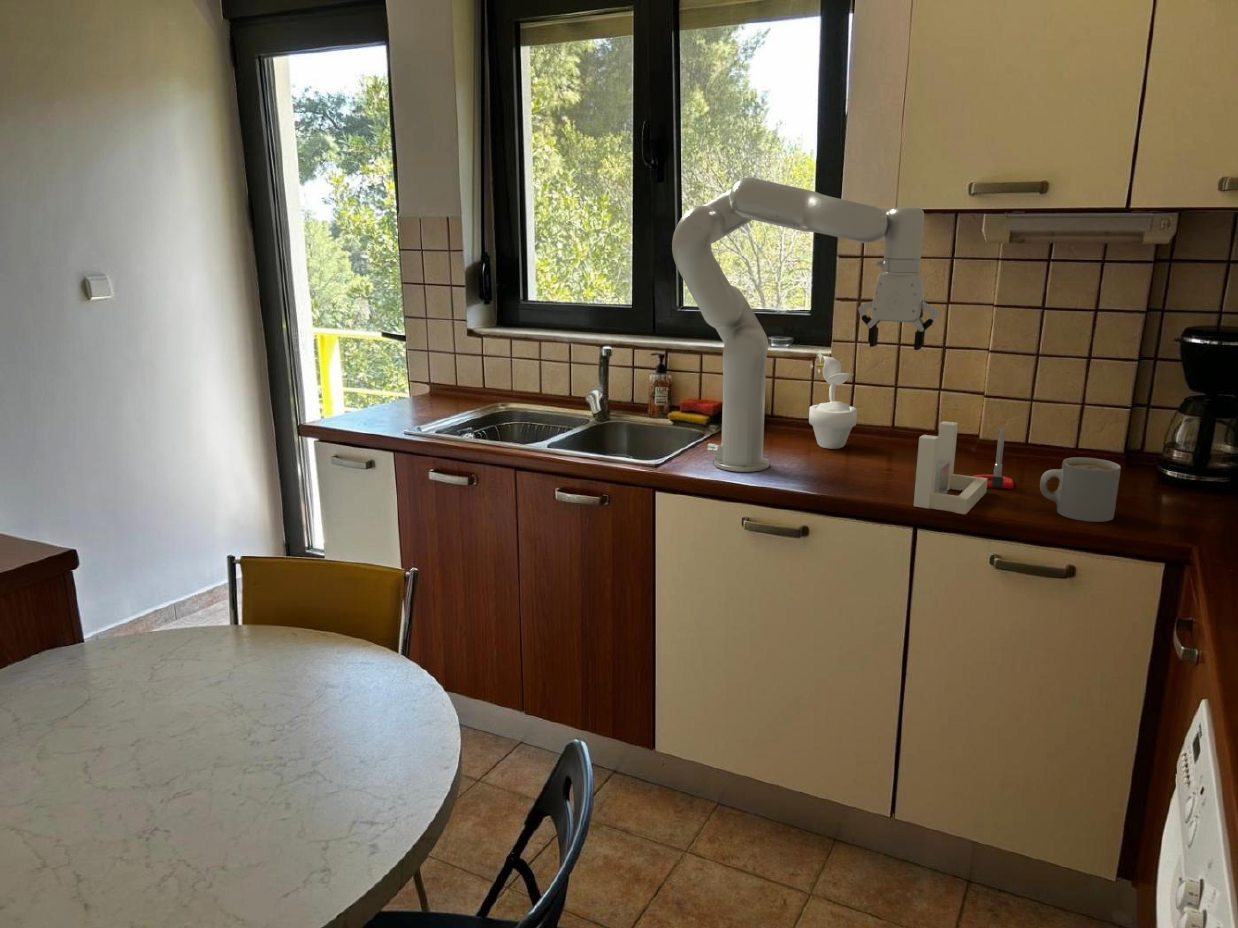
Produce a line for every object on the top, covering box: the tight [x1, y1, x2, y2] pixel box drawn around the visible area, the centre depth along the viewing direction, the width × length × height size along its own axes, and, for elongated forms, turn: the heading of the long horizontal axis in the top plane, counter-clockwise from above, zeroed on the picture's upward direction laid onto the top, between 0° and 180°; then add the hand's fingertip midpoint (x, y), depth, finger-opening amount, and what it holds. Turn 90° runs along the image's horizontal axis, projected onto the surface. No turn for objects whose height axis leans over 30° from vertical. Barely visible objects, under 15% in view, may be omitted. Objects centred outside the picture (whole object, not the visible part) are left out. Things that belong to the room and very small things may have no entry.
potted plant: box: [808, 348, 858, 450], centre depth 227 cm, size 13×12×25 cm
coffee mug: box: [1039, 456, 1122, 523], centre depth 177 cm, size 13×10×10 cm
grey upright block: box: [934, 460, 950, 494], centre depth 188 cm, size 4×7×7 cm, turn 147°
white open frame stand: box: [913, 420, 989, 515], centre depth 185 cm, size 10×18×14 cm, turn 147°
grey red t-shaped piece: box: [971, 428, 1014, 490], centre depth 197 cm, size 8×13×9 cm
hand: (895, 347), depth 199 cm, fingers open, 9 cm apart
